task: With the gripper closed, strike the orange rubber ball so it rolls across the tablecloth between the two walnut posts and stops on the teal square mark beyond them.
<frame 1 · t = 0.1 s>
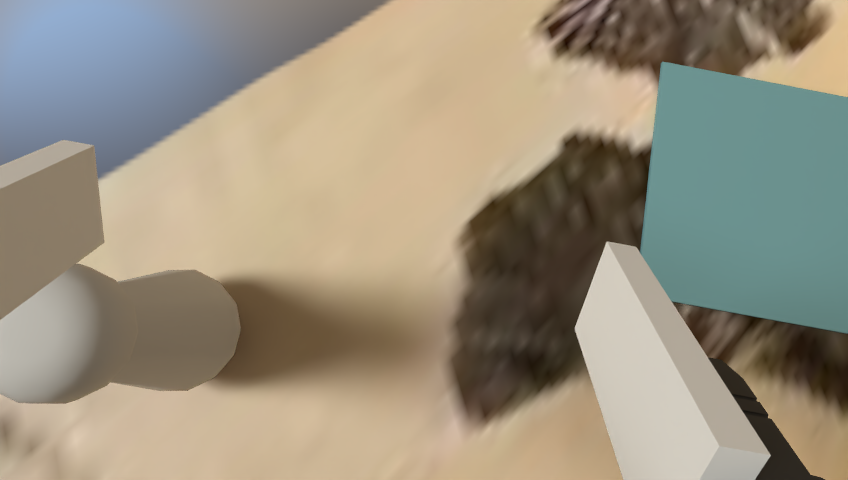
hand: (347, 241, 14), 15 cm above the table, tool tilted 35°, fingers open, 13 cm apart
salt shaker: (197, 329, 28), on the table
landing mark: (766, 197, 31), on the table
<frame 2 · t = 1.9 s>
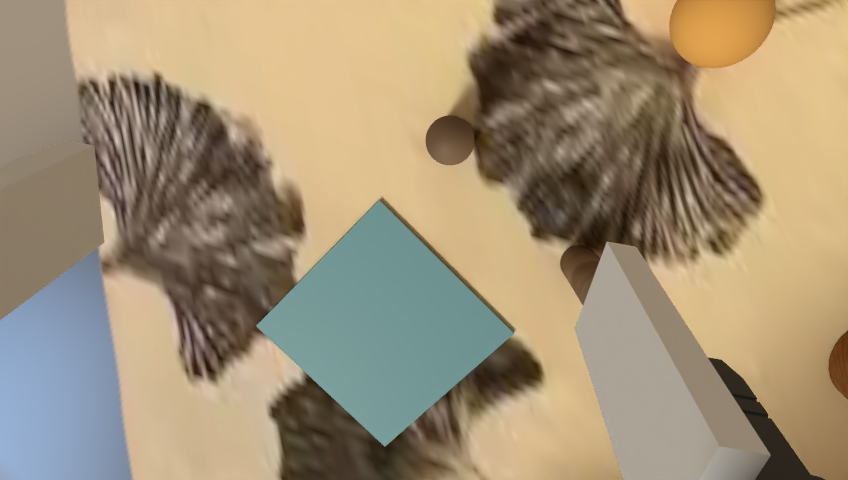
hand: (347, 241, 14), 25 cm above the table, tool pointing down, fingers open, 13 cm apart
outer post: (455, 137, 37), on the table
ball: (720, 19, 32), on the table
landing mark: (382, 328, 41), on the table
inner post: (578, 262, 38), on the table
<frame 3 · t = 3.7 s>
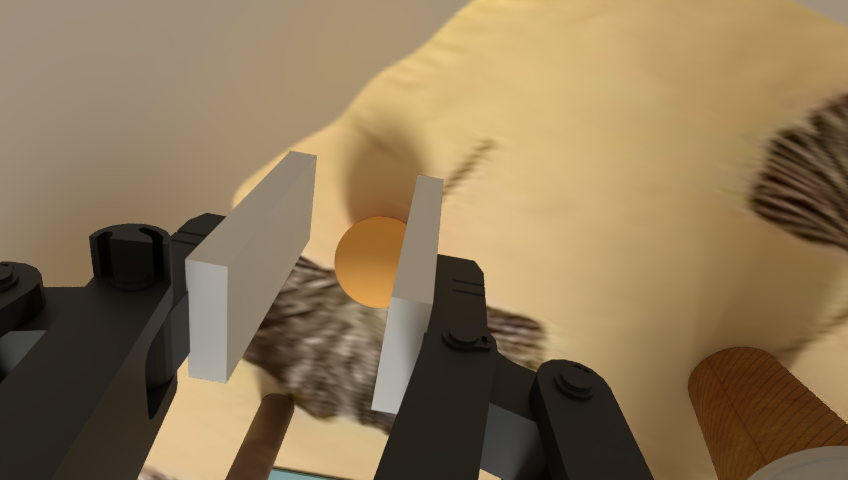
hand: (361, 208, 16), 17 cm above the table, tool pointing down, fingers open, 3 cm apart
outer post: (277, 406, 42), on the table
ball: (380, 261, 32), on the table
disposable coffee cup: (732, 380, 38), on the table
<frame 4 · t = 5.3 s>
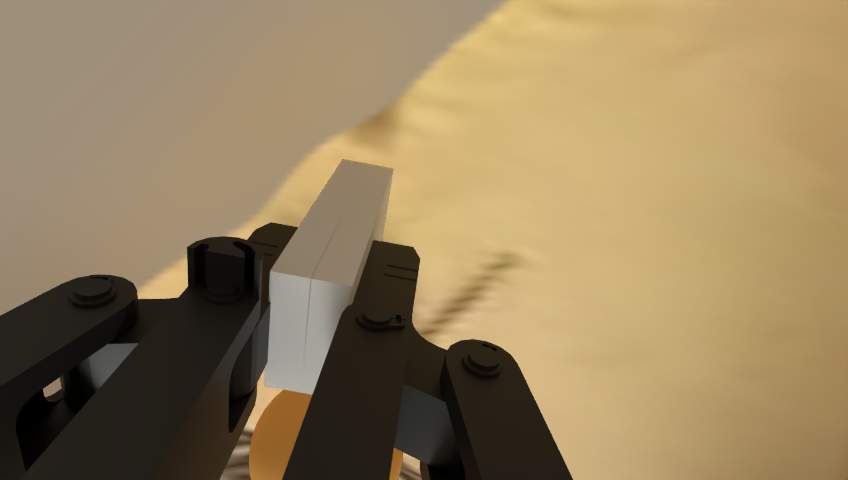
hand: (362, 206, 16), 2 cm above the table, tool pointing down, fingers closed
ball: (328, 450, 20), on the table
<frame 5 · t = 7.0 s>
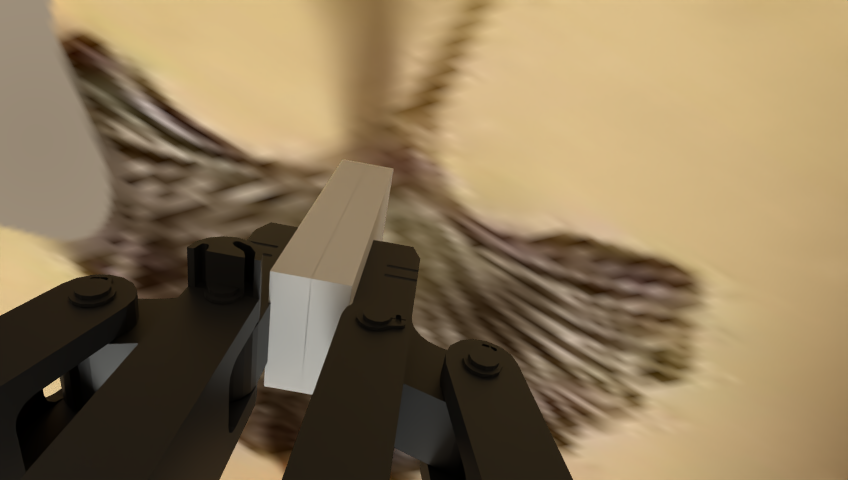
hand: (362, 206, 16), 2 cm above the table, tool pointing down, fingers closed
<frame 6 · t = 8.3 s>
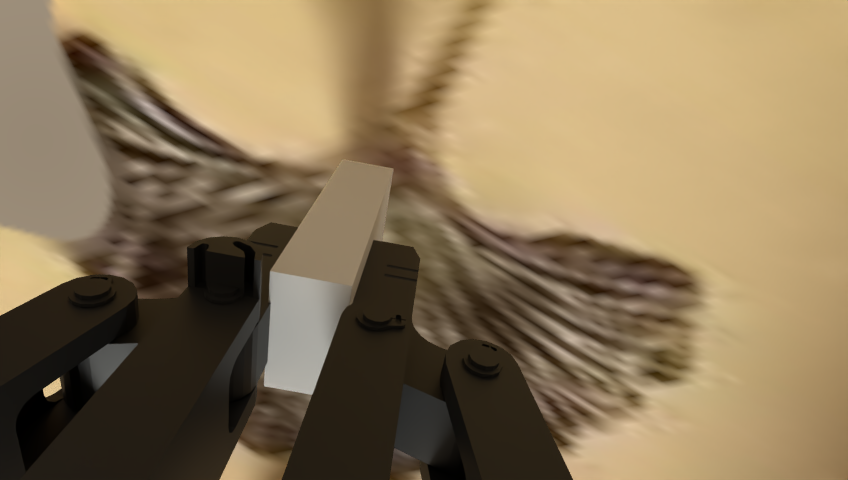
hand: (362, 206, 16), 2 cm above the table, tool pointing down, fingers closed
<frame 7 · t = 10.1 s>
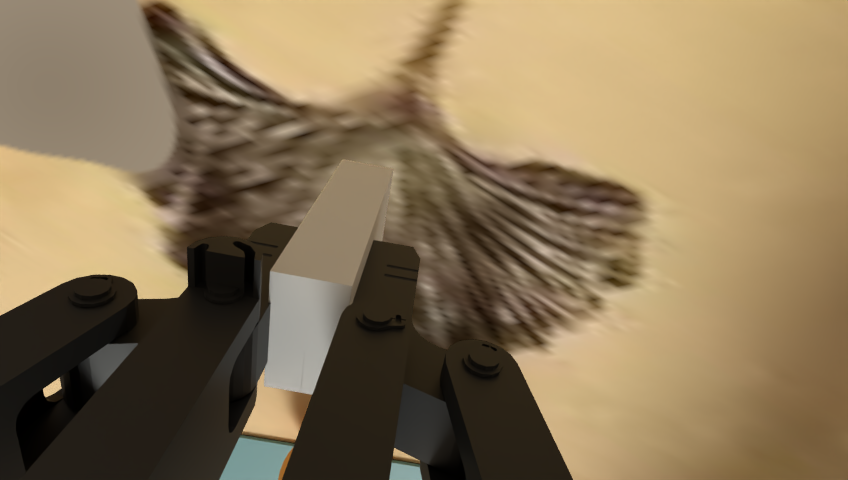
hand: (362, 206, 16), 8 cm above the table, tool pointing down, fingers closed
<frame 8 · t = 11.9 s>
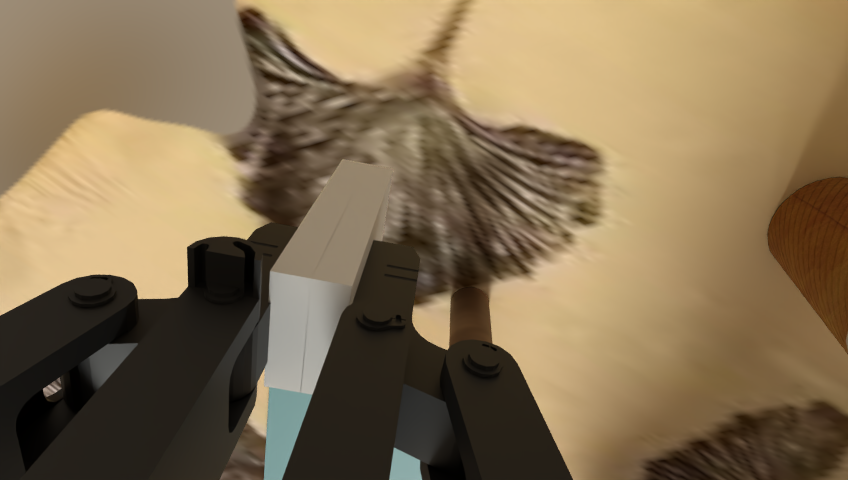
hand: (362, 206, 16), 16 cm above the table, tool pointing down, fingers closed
disposable coffee cup: (820, 224, 33), on the table
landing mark: (355, 434, 43), on the table
inner post: (469, 303, 37), on the table
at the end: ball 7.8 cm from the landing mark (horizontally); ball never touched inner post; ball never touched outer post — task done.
